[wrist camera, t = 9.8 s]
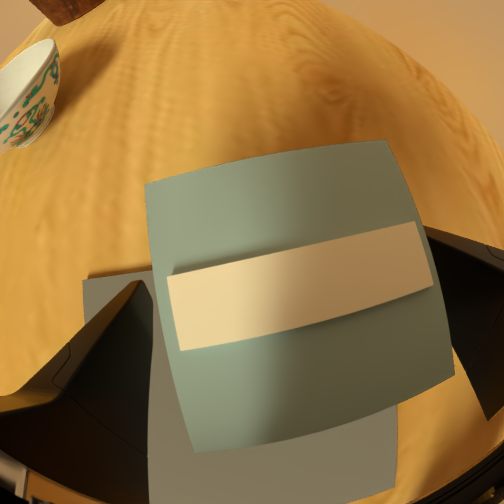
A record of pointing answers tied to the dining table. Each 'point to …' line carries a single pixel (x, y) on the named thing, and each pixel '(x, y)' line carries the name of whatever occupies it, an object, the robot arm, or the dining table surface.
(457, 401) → the dining table surface
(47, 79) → the chinaware
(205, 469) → the mat
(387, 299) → the block
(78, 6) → the brown flower pot
